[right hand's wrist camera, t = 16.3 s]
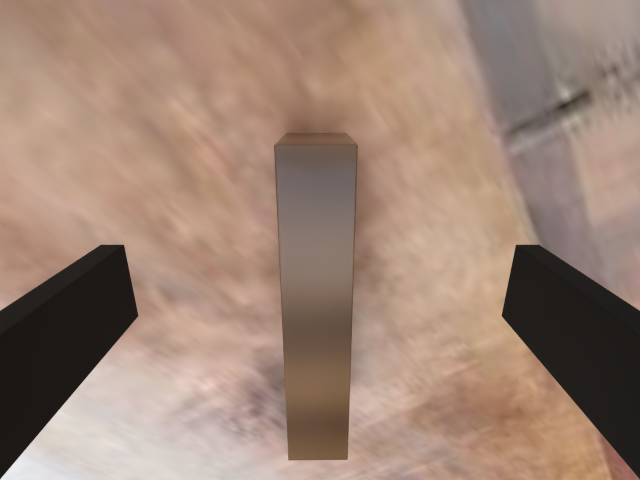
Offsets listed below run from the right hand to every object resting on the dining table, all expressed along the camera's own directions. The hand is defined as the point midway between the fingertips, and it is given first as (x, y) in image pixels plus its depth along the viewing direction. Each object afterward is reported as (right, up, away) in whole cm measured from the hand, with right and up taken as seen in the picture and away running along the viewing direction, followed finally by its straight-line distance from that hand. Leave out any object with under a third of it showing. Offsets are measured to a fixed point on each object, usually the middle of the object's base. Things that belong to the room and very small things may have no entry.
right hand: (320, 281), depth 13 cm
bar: (0, -2, +23) cm, 23 cm away
